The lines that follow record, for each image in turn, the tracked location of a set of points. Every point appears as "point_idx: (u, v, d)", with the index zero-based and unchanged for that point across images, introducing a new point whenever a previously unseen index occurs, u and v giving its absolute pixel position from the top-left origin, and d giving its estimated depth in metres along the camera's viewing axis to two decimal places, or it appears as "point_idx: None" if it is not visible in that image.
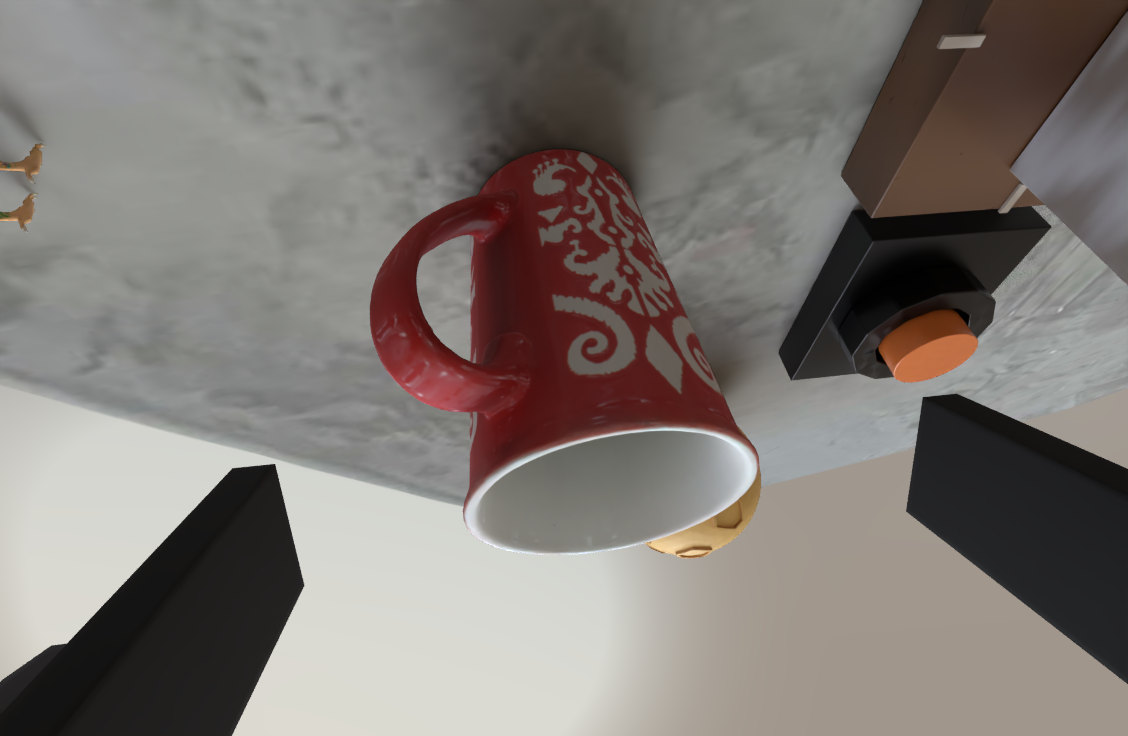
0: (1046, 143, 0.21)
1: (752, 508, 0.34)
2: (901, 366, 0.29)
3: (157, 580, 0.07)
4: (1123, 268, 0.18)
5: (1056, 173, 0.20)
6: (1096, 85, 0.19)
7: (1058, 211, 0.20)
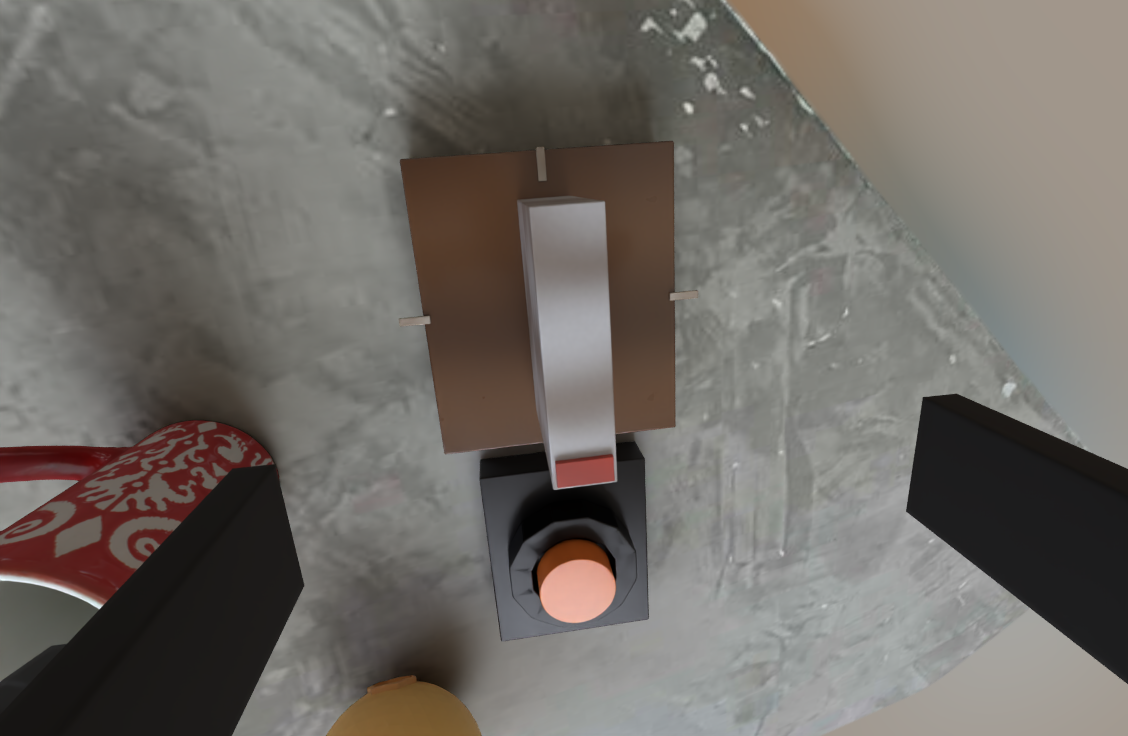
0: (534, 383, 0.27)
1: None
2: (546, 601, 0.29)
3: (157, 580, 0.07)
4: (547, 457, 0.22)
5: (537, 401, 0.26)
6: (530, 340, 0.26)
7: (540, 428, 0.25)
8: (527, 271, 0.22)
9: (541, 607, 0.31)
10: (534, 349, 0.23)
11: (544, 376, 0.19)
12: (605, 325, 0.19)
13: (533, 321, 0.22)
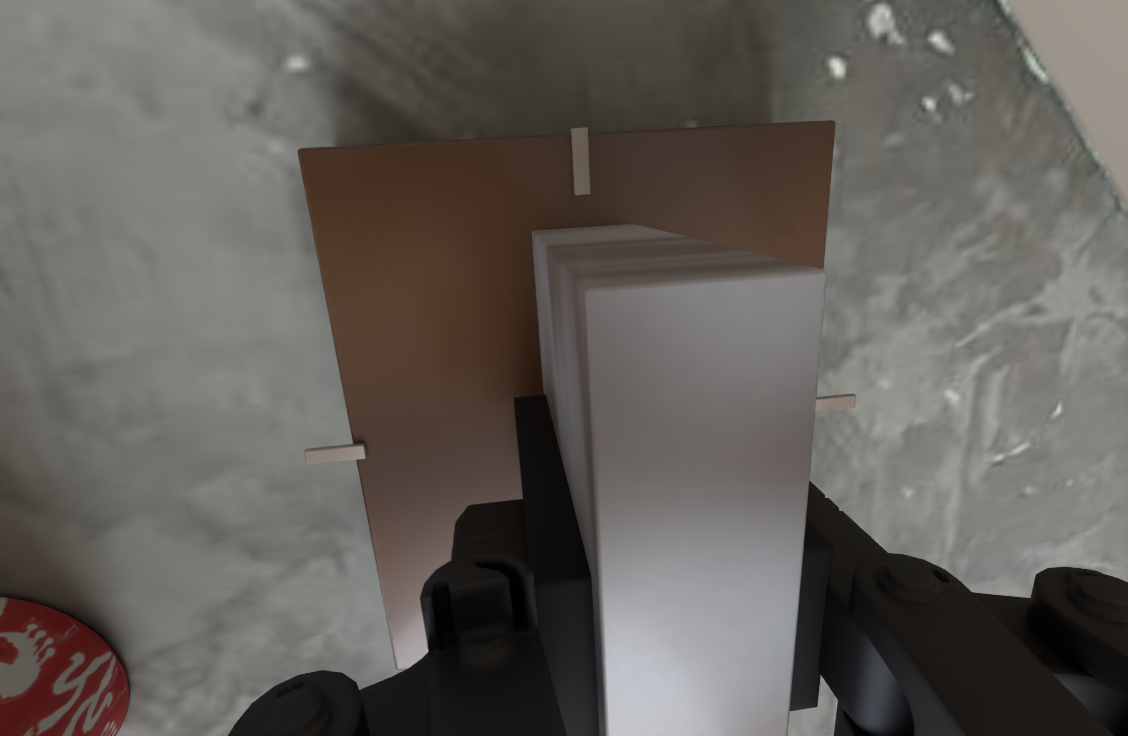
0: None
1: None
2: None
3: (542, 458, 0.10)
4: None
5: None
6: None
7: None
8: (554, 393, 0.10)
9: None
10: None
11: None
12: (785, 610, 0.07)
13: None
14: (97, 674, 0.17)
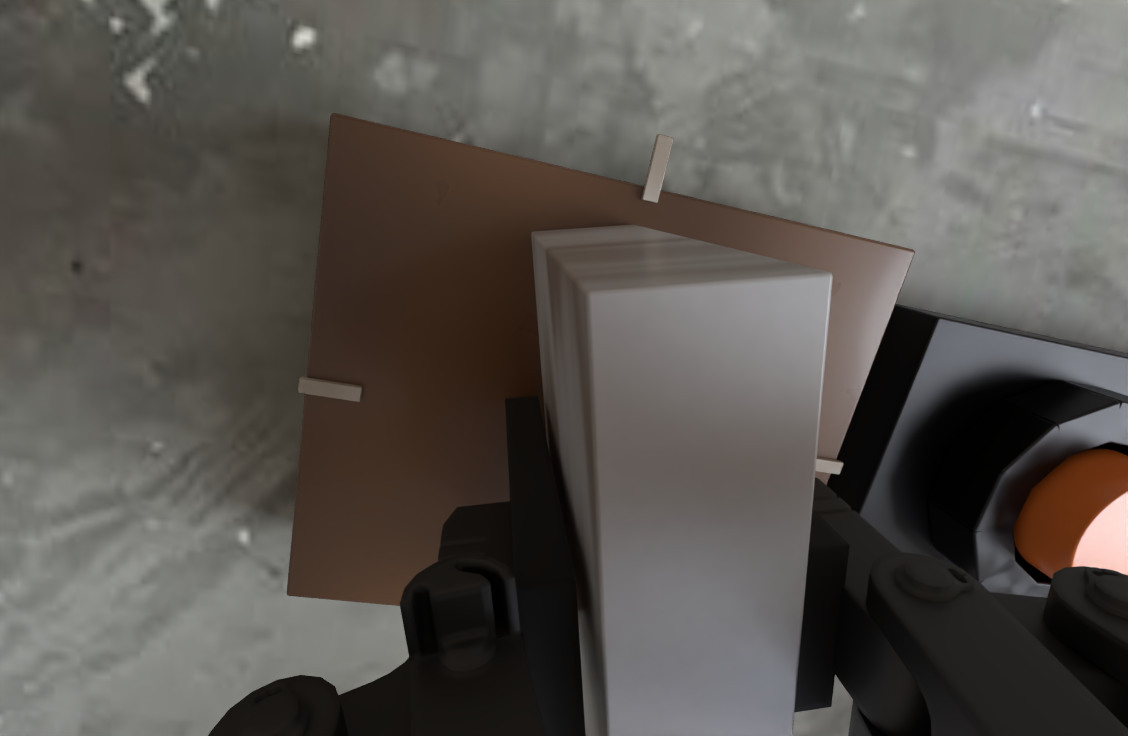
0: None
1: None
2: None
3: (531, 460, 0.10)
4: None
5: None
6: None
7: None
8: (554, 396, 0.10)
9: None
10: None
11: None
12: (790, 618, 0.07)
13: (568, 517, 0.10)
14: None
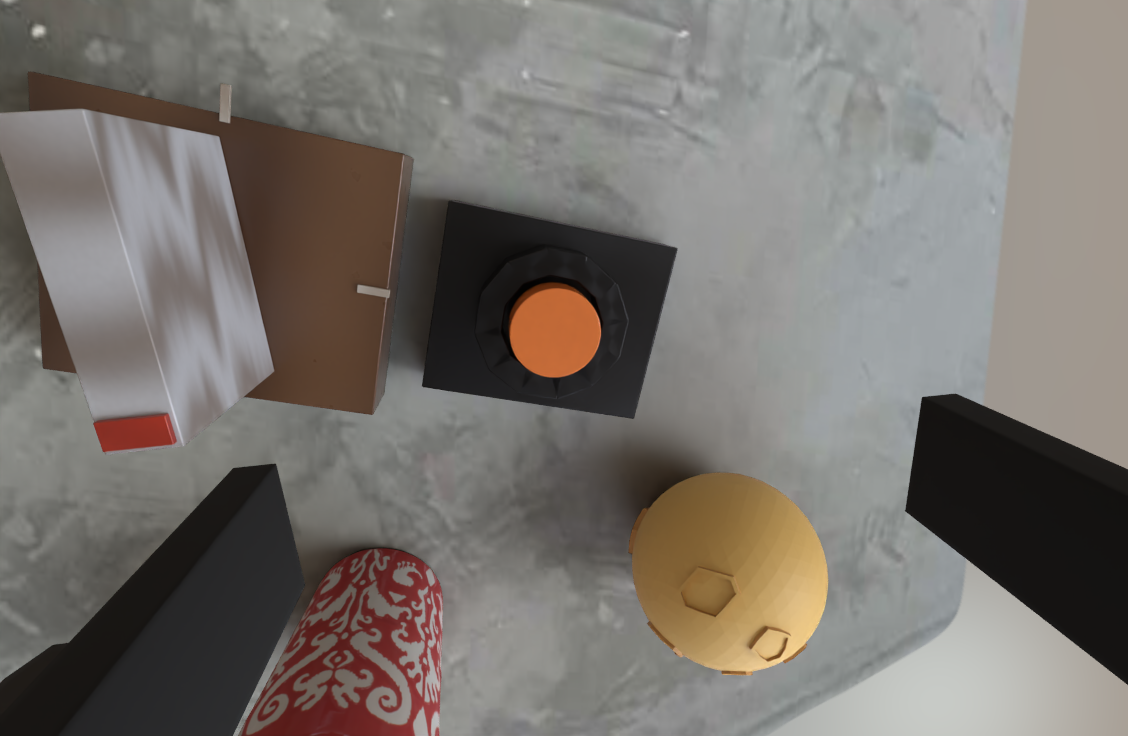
0: None
1: (739, 550, 0.25)
2: (554, 371, 0.25)
3: (159, 579, 0.07)
4: None
5: None
6: None
7: None
8: None
9: (582, 373, 0.27)
10: None
11: (58, 319, 0.17)
12: (120, 259, 0.16)
13: None
14: (369, 557, 0.31)
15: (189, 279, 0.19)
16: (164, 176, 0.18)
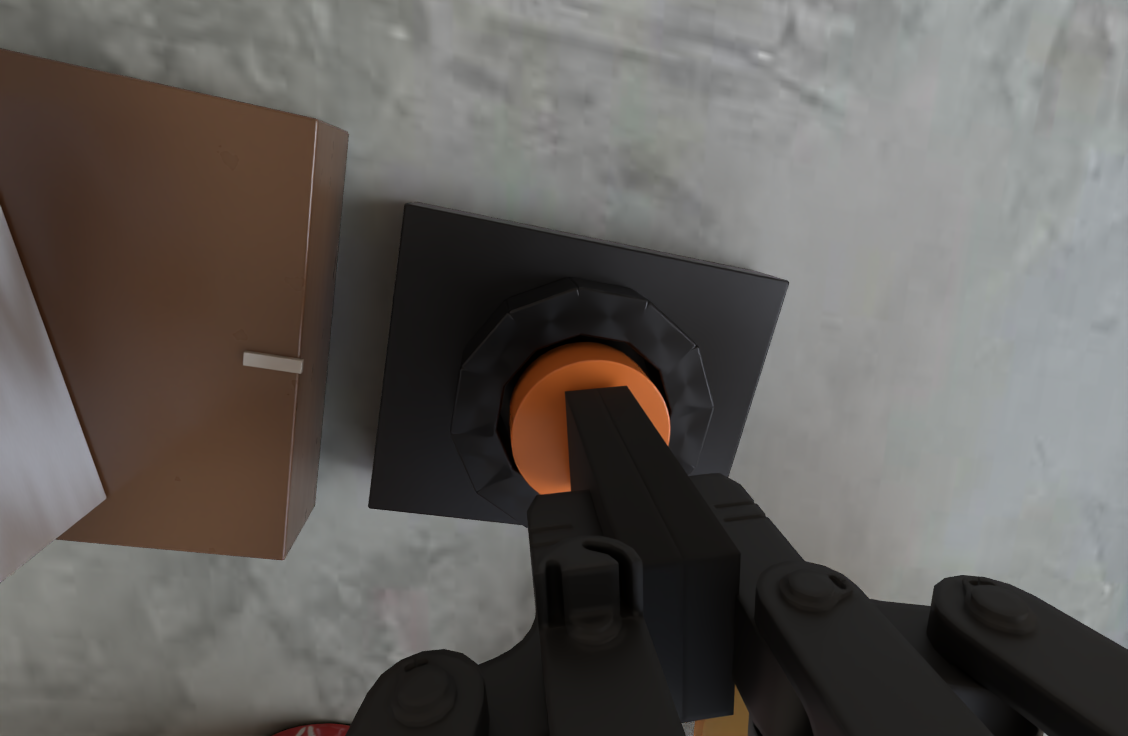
0: None
1: None
2: None
3: (608, 449, 0.10)
4: None
5: None
6: None
7: None
8: None
9: None
10: None
11: None
12: None
13: None
14: None
15: None
16: None
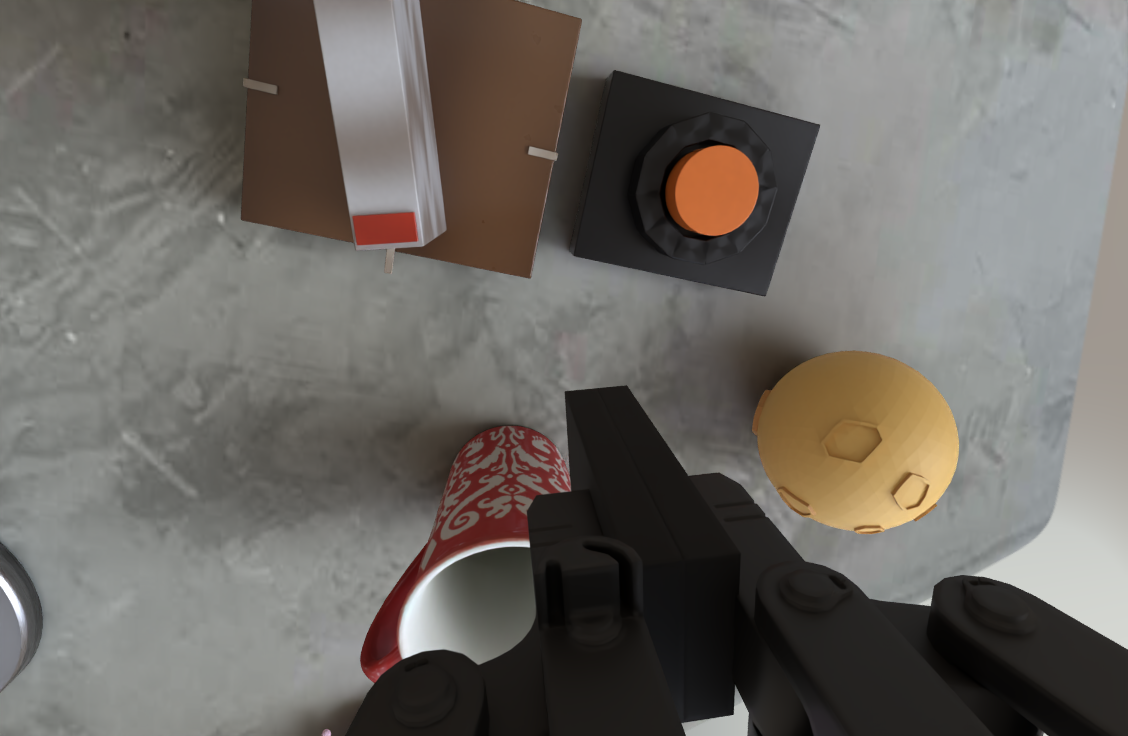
0: None
1: (882, 403, 0.27)
2: (712, 229, 0.27)
3: (608, 449, 0.10)
4: None
5: None
6: None
7: None
8: None
9: (730, 239, 0.28)
10: None
11: (333, 114, 0.18)
12: (393, 57, 0.18)
13: None
14: (505, 430, 0.33)
15: (417, 105, 0.21)
16: (405, 4, 0.20)
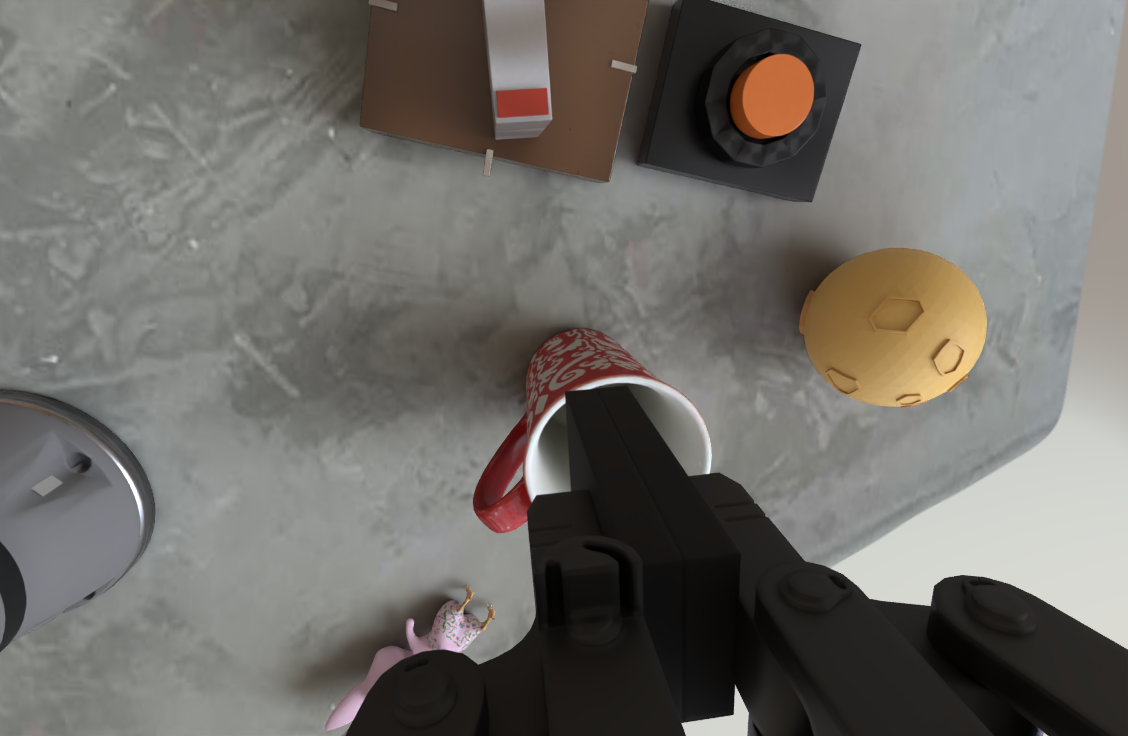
0: None
1: (922, 281, 0.31)
2: (774, 130, 0.30)
3: (608, 449, 0.10)
4: (494, 120, 0.25)
5: None
6: None
7: None
8: None
9: (786, 143, 0.32)
10: None
11: (484, 2, 0.22)
12: None
13: None
14: (578, 330, 0.37)
15: None
16: None
